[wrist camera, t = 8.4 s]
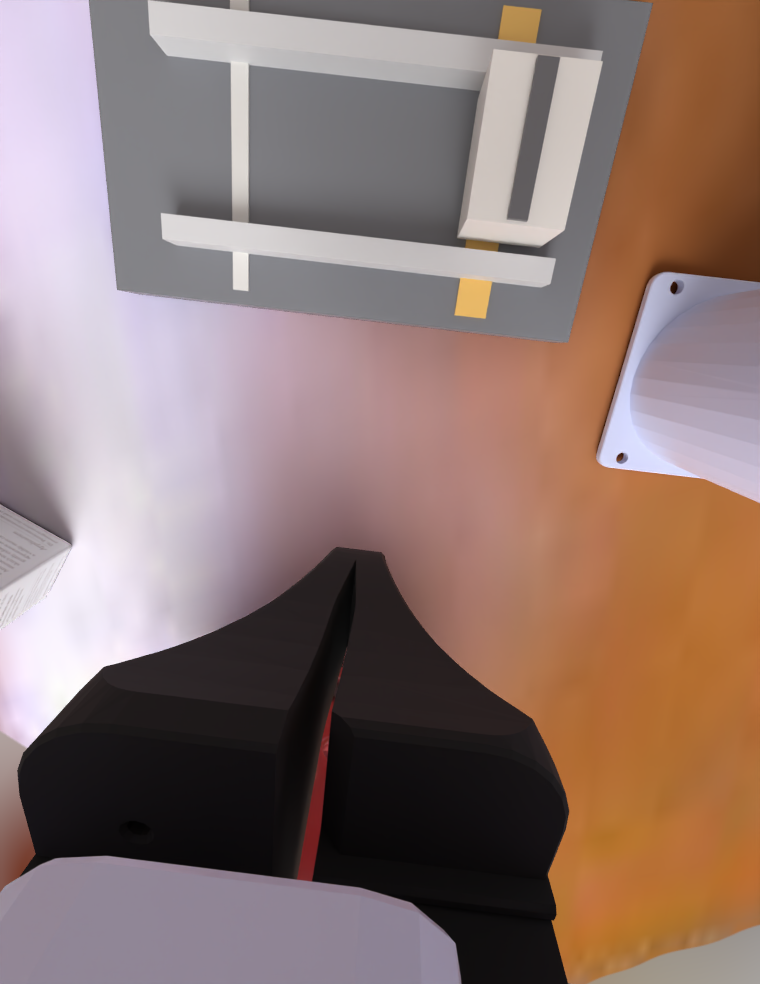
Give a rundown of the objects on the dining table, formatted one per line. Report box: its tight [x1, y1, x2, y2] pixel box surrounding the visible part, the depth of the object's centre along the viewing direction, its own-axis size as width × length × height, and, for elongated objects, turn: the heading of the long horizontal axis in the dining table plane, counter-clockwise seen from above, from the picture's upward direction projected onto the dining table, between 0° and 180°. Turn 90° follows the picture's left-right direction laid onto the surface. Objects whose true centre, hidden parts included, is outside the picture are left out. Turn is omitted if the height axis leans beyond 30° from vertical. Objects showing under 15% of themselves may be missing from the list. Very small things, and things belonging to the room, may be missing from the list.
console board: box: [89, 0, 653, 343], centre depth 15 cm, size 18×10×2 cm, turn 84°
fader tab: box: [457, 49, 603, 248], centre depth 13 cm, size 3×4×3 cm
